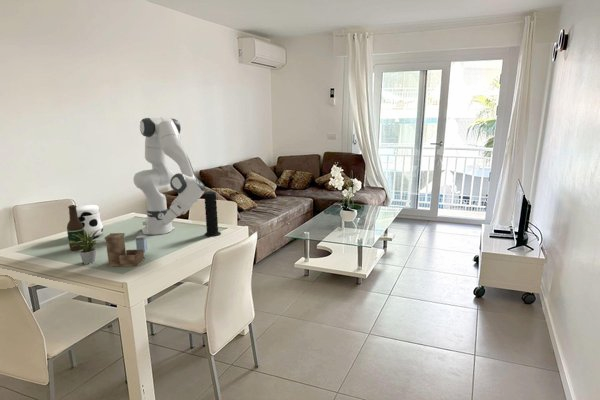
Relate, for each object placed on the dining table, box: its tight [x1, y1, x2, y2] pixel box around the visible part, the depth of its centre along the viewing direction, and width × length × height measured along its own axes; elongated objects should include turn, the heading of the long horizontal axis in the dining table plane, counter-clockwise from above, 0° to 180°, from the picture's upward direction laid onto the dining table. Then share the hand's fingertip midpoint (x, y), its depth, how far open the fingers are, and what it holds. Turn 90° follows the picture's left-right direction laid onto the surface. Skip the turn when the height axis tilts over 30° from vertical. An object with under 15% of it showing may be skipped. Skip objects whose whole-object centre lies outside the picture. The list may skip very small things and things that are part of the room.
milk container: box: [76, 204, 104, 240], centre depth 227 cm, size 17×17×18 cm
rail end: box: [135, 234, 148, 253], centre depth 201 cm, size 4×4×8 cm
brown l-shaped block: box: [104, 232, 145, 267], centre depth 184 cm, size 14×10×14 cm
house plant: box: [68, 229, 101, 265], centre depth 186 cm, size 14×14×16 cm
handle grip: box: [203, 190, 222, 238], centre depth 227 cm, size 10×26×10 cm
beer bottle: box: [66, 204, 84, 252], centre depth 205 cm, size 8×8×24 cm
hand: (163, 224), depth 200 cm, fingers open, 8 cm apart
